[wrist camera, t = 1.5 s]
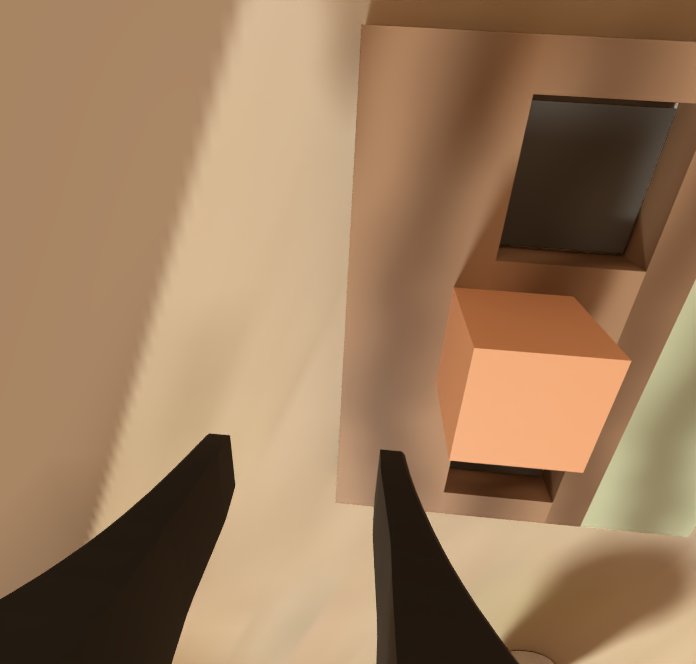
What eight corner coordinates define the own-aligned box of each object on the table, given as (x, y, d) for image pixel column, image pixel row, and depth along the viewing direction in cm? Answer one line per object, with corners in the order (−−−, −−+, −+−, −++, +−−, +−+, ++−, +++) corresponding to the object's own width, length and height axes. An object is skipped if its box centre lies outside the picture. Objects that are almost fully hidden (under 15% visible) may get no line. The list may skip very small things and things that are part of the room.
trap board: (935, 61, 15) (1005, 58, 14) (668, 507, 27) (688, 537, 25) (364, 31, 16) (361, 24, 14) (338, 476, 27) (335, 502, 26)
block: (573, 296, 18) (631, 361, 14) (541, 392, 21) (583, 472, 16) (453, 287, 19) (474, 348, 14) (436, 383, 21) (449, 460, 17)
